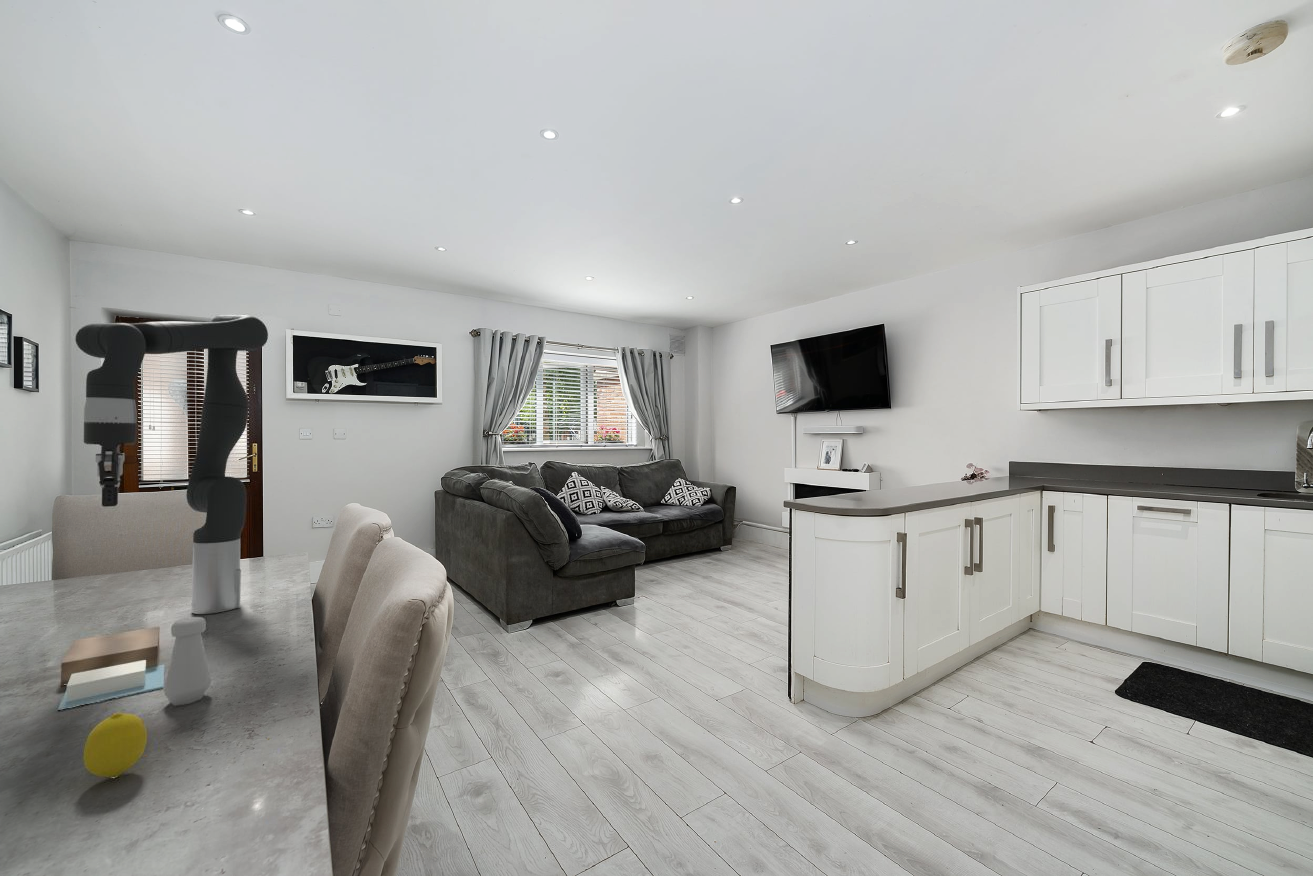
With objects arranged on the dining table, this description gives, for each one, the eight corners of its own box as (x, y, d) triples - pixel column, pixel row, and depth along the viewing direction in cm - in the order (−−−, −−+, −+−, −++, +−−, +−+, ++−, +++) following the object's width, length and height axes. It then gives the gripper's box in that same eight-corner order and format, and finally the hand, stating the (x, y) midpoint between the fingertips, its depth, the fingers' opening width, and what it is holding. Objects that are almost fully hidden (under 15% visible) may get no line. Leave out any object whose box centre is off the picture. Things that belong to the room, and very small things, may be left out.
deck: (159, 646, 109) (159, 626, 109) (157, 667, 99) (157, 645, 99) (72, 661, 101) (73, 640, 101) (60, 686, 91) (61, 663, 91)
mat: (164, 666, 99) (164, 664, 99) (163, 688, 91) (163, 686, 91) (69, 685, 91) (69, 683, 91) (57, 711, 83) (57, 709, 83)
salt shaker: (219, 694, 88) (220, 616, 89) (178, 710, 83) (180, 627, 83) (195, 689, 90) (197, 612, 90) (154, 704, 85) (156, 622, 85)
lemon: (111, 765, 69) (113, 703, 69) (157, 763, 69) (159, 701, 69) (68, 793, 63) (70, 725, 63) (118, 791, 64) (120, 723, 64)
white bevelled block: (144, 670, 91) (144, 685, 91) (146, 659, 95) (145, 673, 95) (66, 686, 85) (66, 702, 85) (71, 674, 89) (71, 689, 89)
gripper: (134, 420, 106) (134, 507, 106) (137, 422, 116) (137, 501, 116) (79, 419, 101) (78, 511, 101) (87, 421, 111) (86, 504, 111)
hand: (109, 505), depth 109 cm, fingers closed
